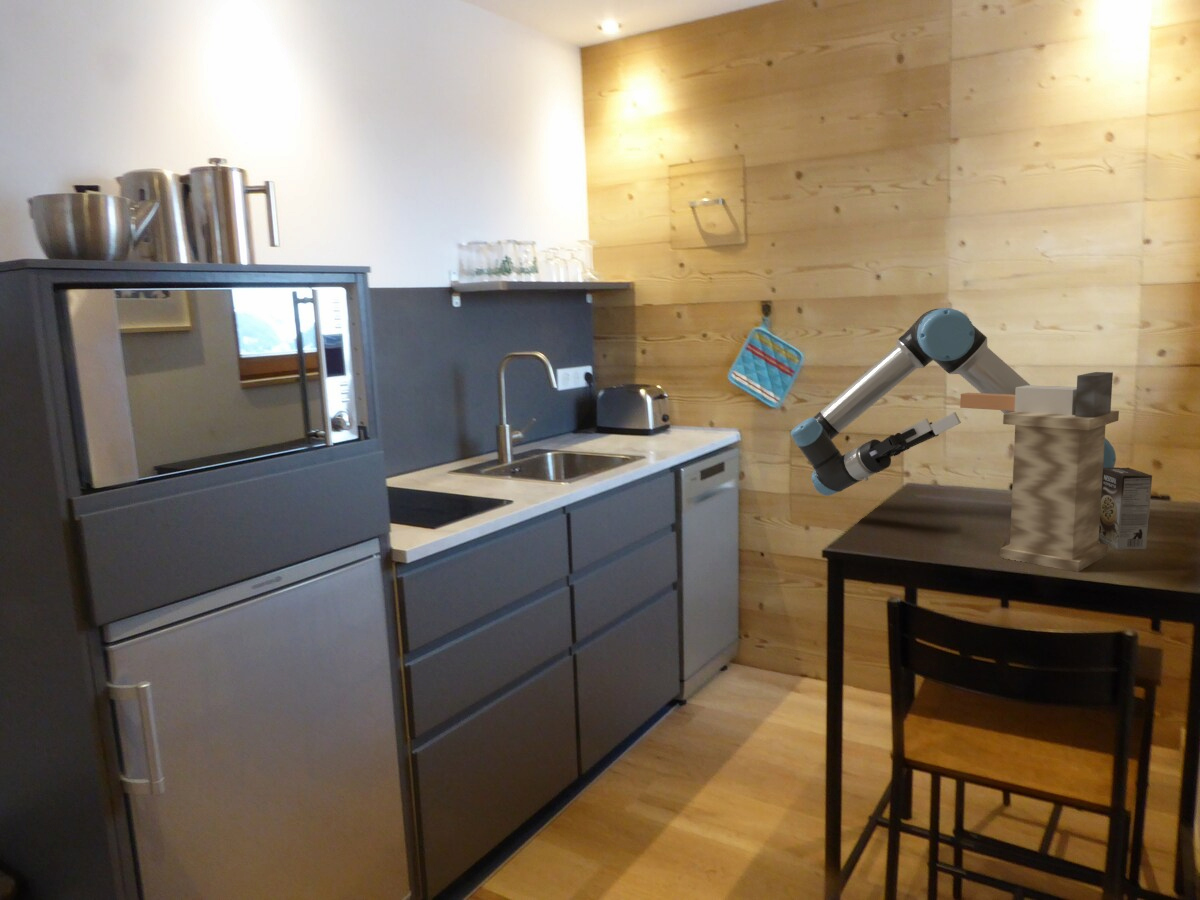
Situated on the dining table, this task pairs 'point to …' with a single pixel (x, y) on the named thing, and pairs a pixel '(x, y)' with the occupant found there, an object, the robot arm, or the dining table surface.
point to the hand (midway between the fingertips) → (943, 420)
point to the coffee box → (1125, 508)
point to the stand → (1060, 480)
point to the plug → (1026, 400)
